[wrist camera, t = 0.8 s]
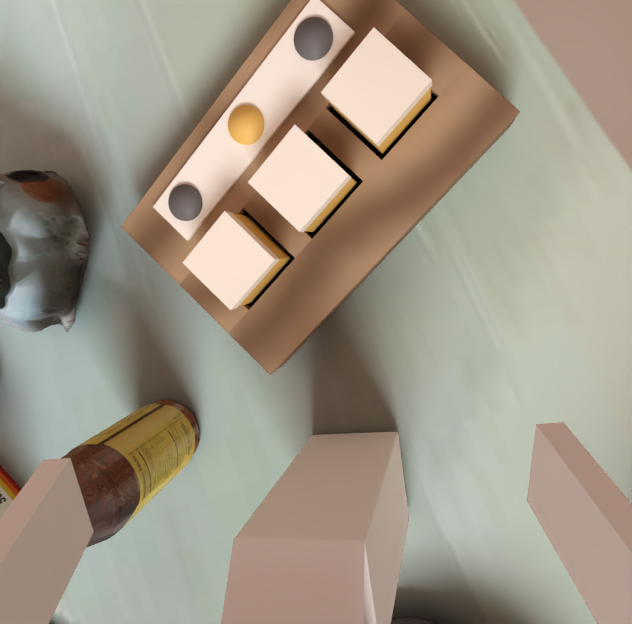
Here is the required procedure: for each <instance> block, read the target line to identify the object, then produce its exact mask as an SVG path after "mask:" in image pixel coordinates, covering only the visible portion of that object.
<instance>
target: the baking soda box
mask: <svg viewBox="0 0 632 624" xmlns="http://www.w3.org/2000/svg"><path fill="white" fill-rule="evenodd" d="M20 491H21V488H20V487H19V486H18V485H17V484H16V482H15V481H14V480H13V479H12V478H11V477H10V476H9V475H8V474H7V472H6V471H5V470H4V469H3V468H2V467H1V466H0V518H1V517H2V515H3V514H4V513H5V511H6V510H7V508H8V507H9V506H10V504H11V503H12V502H13V500H14V499H15V498H16V496H17V495H18V493H19V492H20Z"/></svg>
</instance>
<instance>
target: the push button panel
mask: <svg viewBox="0 0 632 624" xmlns="http://www.w3.org/2000/svg"><path fill="white" fill-rule="evenodd" d="M354 34H355V32H354V31H353V30H352V29H351V28H350V27H349V26H348V25H347V24H346V23H344V22H343V21H342V20H341V19H340V18H339V17H338V16H337V15H336V14H335V13H333V12H332V11H331V10H330V9H329V8H328V7H327V6H326V5H325V4H324V3H322V2H321V1H320V0H310V1H309V3H308V4H307V5H306V6H305V8H304V9H303V10H302V12H301V13H300V14H299V16H298V17H297V18H296V20H295V21H294V22H293V24H292V25H291V26H290V27H289V29H288V30H287V31H286V33H285V34H284V35H283V37H282V38H281V39H280V41H279V42H278V43H277V45H276V46H275V47H274V48H273V50H272V51H271V52H270V54H269V55H268V56H267V58H266V59H265V60H264V62H263V63H262V64H261V66H260V67H259V68H258V69H257V71H256V72H255V73H254V75H253V76H252V77H251V79H250V80H249V81H248V83H247V84H246V85H245V87H244V88H243V89H242V90H241V92H240V93H239V94H238V96H237V97H236V98H235V100H234V101H233V102H232V104H231V105H230V106H229V108H228V109H227V110H226V111H225V113H224V114H223V115H222V117H221V118H220V119H219V121H218V122H217V123H216V125H215V126H214V127H213V129H212V130H211V131H210V133H209V134H208V135H207V136H206V138H205V139H204V140H203V142H202V143H201V144H200V146H199V147H198V148H197V150H196V151H195V152H194V154H193V155H192V156H191V157H190V159H189V160H188V161H187V163H186V164H185V165H184V167H183V168H182V169H181V171H180V172H179V173H178V175H177V176H176V177H175V178H174V180H173V181H172V182H171V184H170V185H169V186H168V188H167V189H166V190H165V192H164V193H163V194H162V196H161V197H160V198H159V199H158V201H157V202H156V203H155V205H154V206H153V208H154V209H155V210H156V211H157V212H159V213H160V214H161V215H162V216H163V217H164V218H165V219H166V220H167V221H168V222H169V223H170V224H171V225H172V226H173V227H174V228H175V229H176V230H177V231H178V232H179V233H180V234H181V235H182V236H183V237H184V238H185V239H186V240H189V239H190V238H191V237H192V236H193V235H194V233H195V232H196V231H197V230H198V228H199V227H200V226H201V225H202V223H203V222H204V221H205V220H206V218H207V217H208V216H209V215H210V213H211V212H212V211H213V210H214V208H215V207H216V206H217V205H218V203H219V202H220V201H221V200H222V198H223V197H224V196H225V195H226V193H227V192H228V191H229V190H230V188H231V187H232V186H233V185H234V183H235V182H236V181H237V180H238V179H239V177H240V176H241V175H242V174H243V172H244V171H245V170H246V169H247V167H248V166H249V165H250V164H251V162H252V161H253V160H254V159H255V157H256V156H257V155H258V154H259V152H260V151H261V150H262V149H263V147H264V146H265V145H266V144H267V142H268V141H269V140H270V139H271V137H272V136H273V135H274V134H275V132H276V131H277V130H278V129H279V128H280V126H281V125H282V124H283V123H284V121H285V120H286V119H287V118H288V116H289V115H290V114H291V113H292V111H293V110H294V109H295V108H296V106H297V105H298V104H299V103H300V101H301V100H302V99H303V98H304V96H305V95H306V94H307V93H308V91H309V90H310V89H311V88H312V86H313V85H314V84H315V83H316V81H317V80H318V79H319V78H320V76H321V75H322V74H323V73H324V72H325V70H326V69H327V68H328V67H329V65H330V64H331V63H332V62H333V60H334V59H335V58H336V57H337V55H338V54H339V53H340V52H341V50H342V49H343V48H344V47H345V45H346V44H347V43H348V42H349V40H350V39H351V38H352V37H353V35H354Z"/></svg>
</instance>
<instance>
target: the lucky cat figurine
mask: <svg viewBox="0 0 632 624" xmlns="http://www.w3.org/2000/svg"><path fill="white" fill-rule="evenodd" d="M88 240H89V234H88V230H87V224H86V221H85V218H84V216H83V214H82V212H81V209H80V206H79V204H78V202H77V200H76V198H75V196H74V194H73V192H72V190H71V187H69V185H68V182H67V181H66V180H65V179H63V178H62V177H60V176H59V175H58V174H57V173H55V172H53V171H46V172H40V171H34V170H22V171H13V172H10V173H6V174H0V317H1V318H2V319H3V320H4V321H6V322H8V323H9V324H10V325H12V326H13V327H15V328H18V329H19V330H22V331H26V332H37V331H42V330H43V329H44V328H46V327H48V326H50V325H55V324H61V325H62V326H64V328H65V330H66V332H68V331H69V330H70V328H71V327H72V325H73V323H74V321H75V314H76V300H77V296H78V291H79V287H80V284H81V280H82V277H83V274H84V271H85V268H86V264H87V261H88Z"/></svg>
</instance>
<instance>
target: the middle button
mask: <svg viewBox="0 0 632 624" xmlns="http://www.w3.org/2000/svg"><path fill="white" fill-rule="evenodd" d="M248 183H249V184H250V185H251V186H252V187H253V188H254V189H255V190H256V191H257V192H258V193H259V194H260V195H261V196H263V197H264V198H265V199H266V200H267V201H268V202H269V203H270V204H271V205H272V206H273V207H274V208H275V209H276V210H277V211H278V212H279V213H280V214H281V215H282V216H283V217H284V218H285V219H286V220H287V221H289V222H290V223H291V224H292V225H293V226H294V227H295V228H296V229H297V230H298V231H299V232H304V231H308V232H314V231H315V230H316V229H317V228H318V227H319V226H320V225H321V223H322V222H323V221H324V220H325V219H326V218H327V217H328V216H329V214H330V213H331V212H332V211H333V210H334V209H335V208H336V207H337V205H338V204H339V203H340V202H341V201H342V200H343V199H344V197H345V196H346V195H347V194H348V193H349V192H350V191H351V190H352V188H353V187H354V186H355V185H356V184H357V182H356V181H355V180H354V179H353V178H352V177H351V176H350V175H349V174H347V173H346V172H345V171H344V170H343V169H342V168H341V167H340V166H339V165H338V164H337V163H336V162H335V161H334V160H333V159H331V158H330V157H329V156H328V155H327V154H326V153H325V152H324V151H323V150H322V149H321V148H320V147H319V146H318V145H317V144H316V143H314V142H313V141H312V140H311V139H310V138H309V137H308V136H307V135H306V134H305V133H304V132H303V131H302V130H301V129H300V128H298V127H297V126H296V125H294V126H293V127H292V128H291V130H290V131H289V132H288V133H287V135H286V136H285V137H284V138H283V140H282V141H281V142H280V143H279V144H278V146H277V147H276V148H275V149H274V151H273V152H272V153H271V154H270V156H269V157H268V158H267V159H266V160H265V162H264V163H263V164H262V165H261V167H260V168H259V169H258V170H257V172H256V173H255V174H254V175H253V176H252V178H251V179H250V180H249V181H248Z"/></svg>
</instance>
